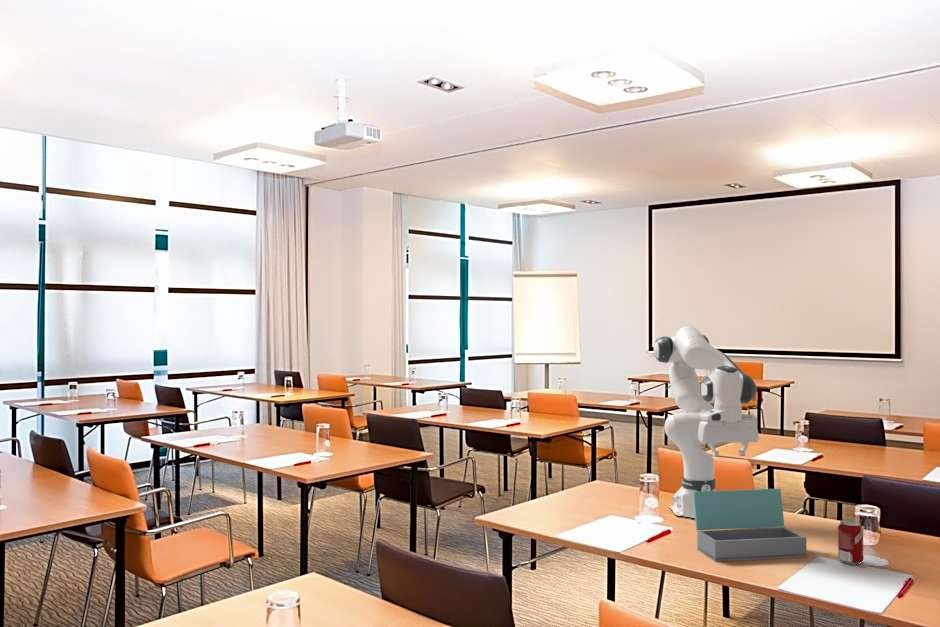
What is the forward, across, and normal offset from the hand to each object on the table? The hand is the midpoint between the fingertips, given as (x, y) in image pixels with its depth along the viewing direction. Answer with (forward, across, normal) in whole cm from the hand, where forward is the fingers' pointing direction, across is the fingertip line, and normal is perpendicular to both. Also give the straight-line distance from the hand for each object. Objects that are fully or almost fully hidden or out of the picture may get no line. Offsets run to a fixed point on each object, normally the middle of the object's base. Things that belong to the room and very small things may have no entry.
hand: (728, 456), depth 247 cm
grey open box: (+28, +1, +15) cm, 32 cm away
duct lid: (+16, +1, +8) cm, 18 cm away
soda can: (+29, -24, +28) cm, 47 cm away
